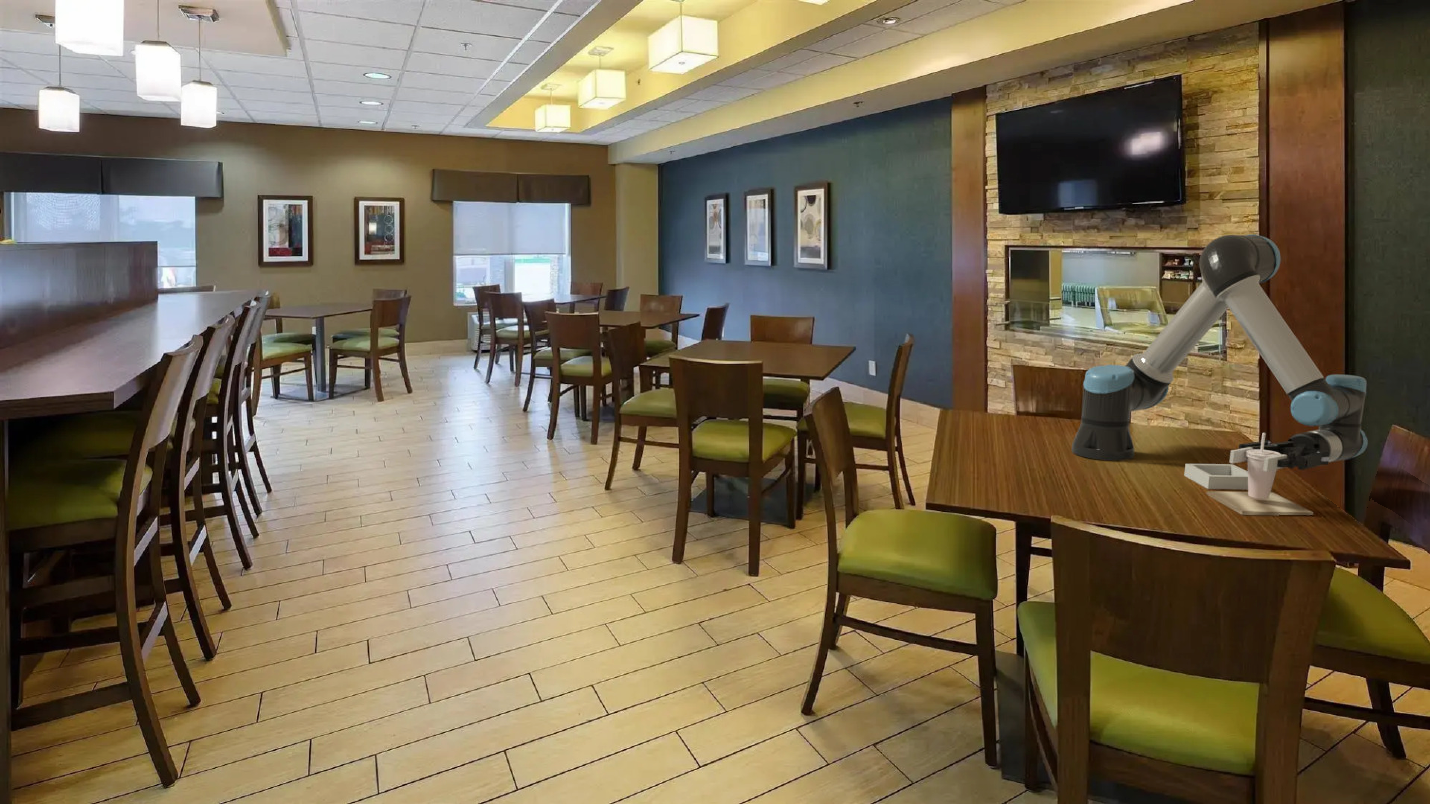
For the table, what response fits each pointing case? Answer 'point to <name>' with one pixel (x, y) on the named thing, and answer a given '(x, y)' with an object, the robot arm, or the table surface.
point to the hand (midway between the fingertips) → (1248, 460)
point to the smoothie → (1259, 472)
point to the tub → (1217, 476)
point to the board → (1258, 504)
